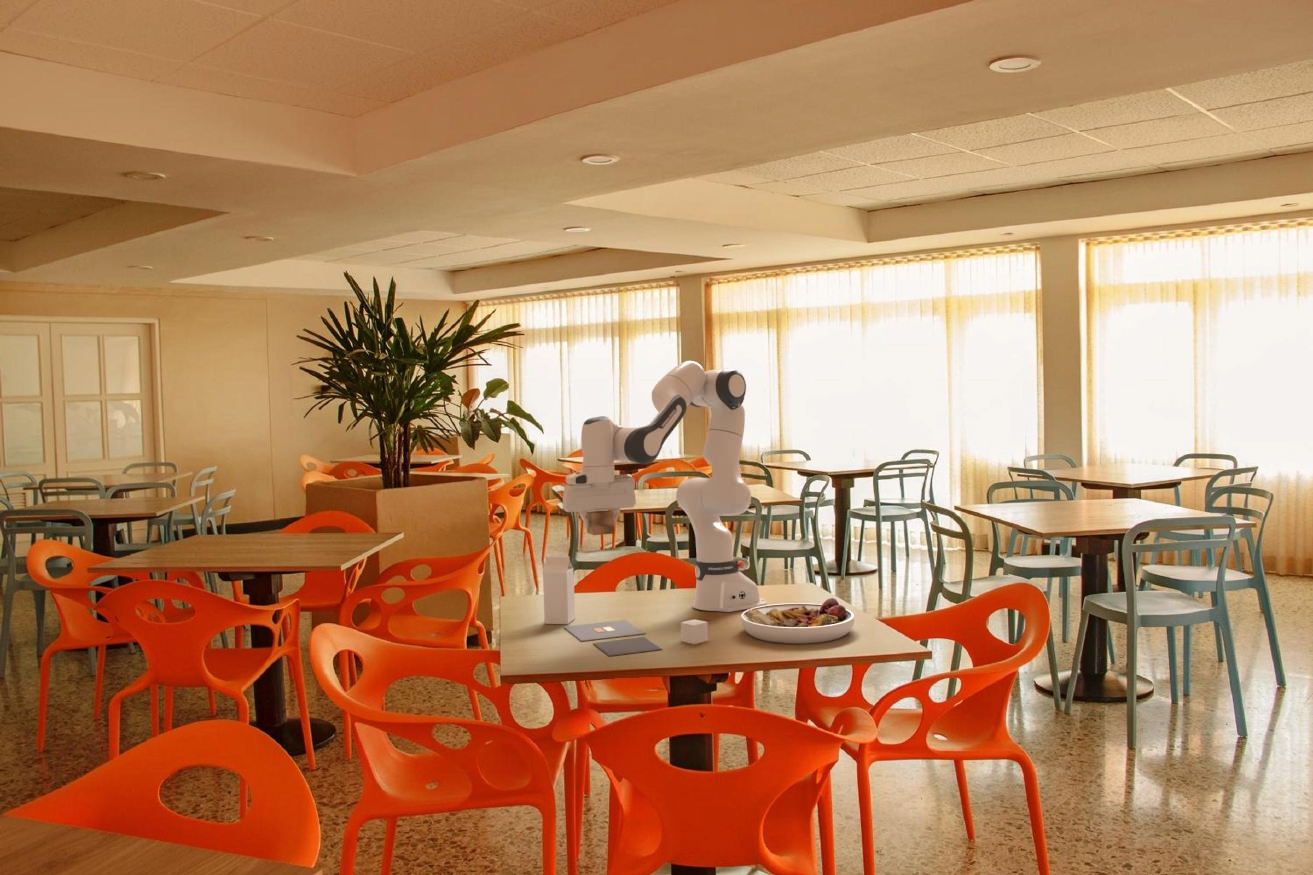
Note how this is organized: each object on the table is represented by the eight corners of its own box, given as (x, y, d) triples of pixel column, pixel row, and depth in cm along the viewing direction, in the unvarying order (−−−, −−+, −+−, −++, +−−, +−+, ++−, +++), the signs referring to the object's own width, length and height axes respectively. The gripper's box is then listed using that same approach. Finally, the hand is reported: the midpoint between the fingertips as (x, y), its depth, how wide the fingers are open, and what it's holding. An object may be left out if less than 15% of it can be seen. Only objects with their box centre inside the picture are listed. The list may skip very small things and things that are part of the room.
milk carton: (568, 624, 285) (565, 558, 285) (544, 624, 287) (542, 558, 286) (575, 619, 292) (573, 554, 291) (551, 618, 294) (549, 554, 293)
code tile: (624, 620, 288) (624, 619, 288) (645, 634, 271) (645, 632, 271) (563, 627, 282) (563, 626, 282) (581, 641, 265) (581, 640, 265)
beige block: (695, 637, 265) (694, 619, 265) (708, 640, 262) (707, 621, 261) (681, 641, 262) (680, 622, 262) (694, 644, 258) (693, 625, 258)
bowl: (790, 653, 247) (789, 621, 247) (719, 631, 273) (718, 602, 272) (878, 634, 263) (877, 605, 263) (803, 615, 288) (803, 588, 288)
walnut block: (607, 530, 279) (607, 509, 279) (614, 533, 273) (613, 511, 273) (587, 532, 277) (586, 511, 277) (593, 535, 271) (592, 513, 271)
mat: (643, 637, 267) (643, 636, 267) (662, 649, 253) (661, 648, 253) (593, 644, 262) (593, 642, 262) (609, 656, 249) (609, 655, 249)
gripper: (630, 473, 281) (632, 522, 282) (560, 477, 274) (561, 527, 275) (638, 474, 275) (639, 524, 276) (566, 478, 268) (568, 530, 269)
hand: (600, 526), depth 275 cm, fingers closed on walnut block, 6 cm apart
